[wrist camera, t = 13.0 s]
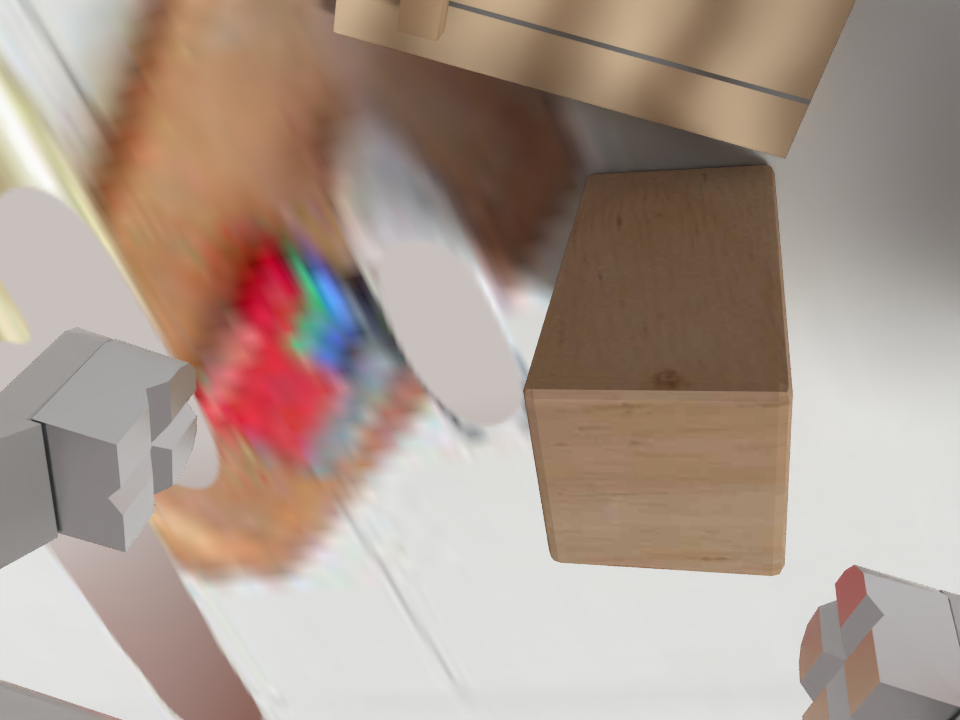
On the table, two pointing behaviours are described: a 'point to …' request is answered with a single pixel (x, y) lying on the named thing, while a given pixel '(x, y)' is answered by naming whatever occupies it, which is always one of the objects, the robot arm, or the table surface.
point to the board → (640, 55)
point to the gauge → (423, 18)
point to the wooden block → (667, 376)
